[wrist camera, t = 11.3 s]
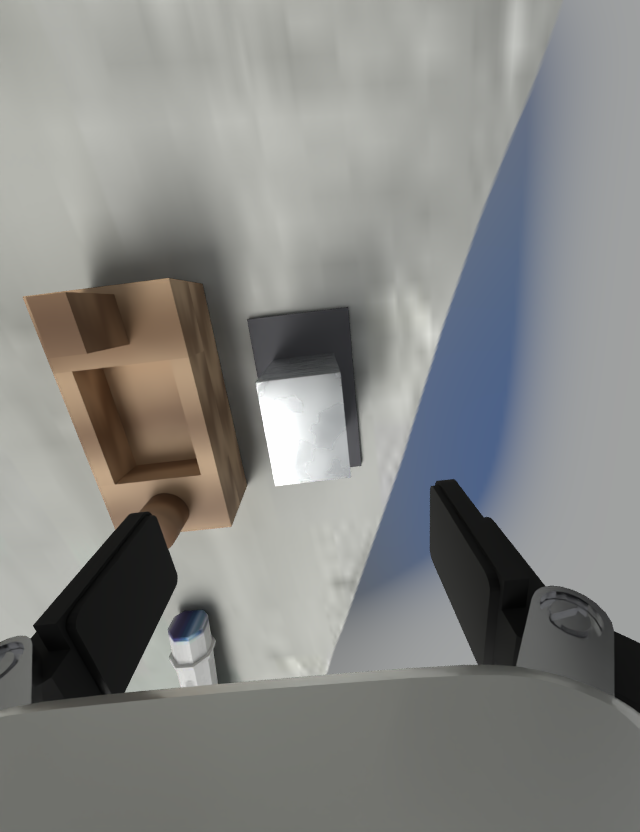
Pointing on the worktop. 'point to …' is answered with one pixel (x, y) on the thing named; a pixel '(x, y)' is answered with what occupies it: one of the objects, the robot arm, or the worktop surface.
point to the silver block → (304, 419)
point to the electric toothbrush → (192, 649)
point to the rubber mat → (311, 353)
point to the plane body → (146, 399)
